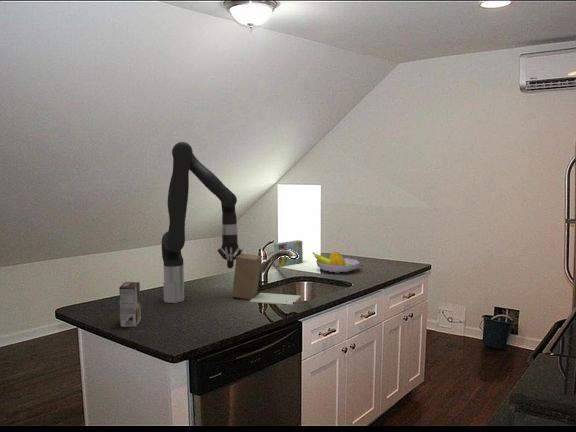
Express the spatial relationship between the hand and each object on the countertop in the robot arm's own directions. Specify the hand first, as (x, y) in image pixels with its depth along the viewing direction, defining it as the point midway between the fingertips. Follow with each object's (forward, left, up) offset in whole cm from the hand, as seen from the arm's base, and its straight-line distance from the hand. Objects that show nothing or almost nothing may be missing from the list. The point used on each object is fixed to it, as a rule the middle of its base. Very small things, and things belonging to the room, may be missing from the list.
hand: (230, 267), depth 241 cm
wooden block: (0, -7, -14) cm, 16 cm away
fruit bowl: (+74, -39, -14) cm, 85 cm away
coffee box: (-51, +23, -14) cm, 58 cm away
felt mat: (0, -23, -14) cm, 27 cm away
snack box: (+85, -6, -14) cm, 87 cm away
